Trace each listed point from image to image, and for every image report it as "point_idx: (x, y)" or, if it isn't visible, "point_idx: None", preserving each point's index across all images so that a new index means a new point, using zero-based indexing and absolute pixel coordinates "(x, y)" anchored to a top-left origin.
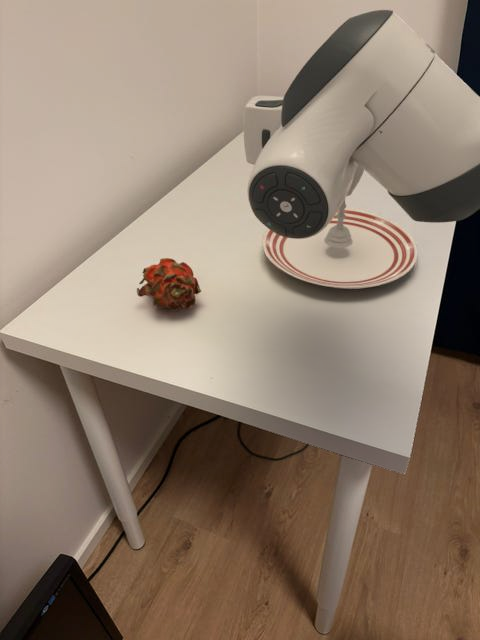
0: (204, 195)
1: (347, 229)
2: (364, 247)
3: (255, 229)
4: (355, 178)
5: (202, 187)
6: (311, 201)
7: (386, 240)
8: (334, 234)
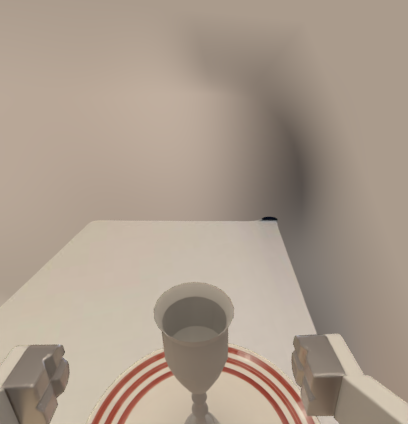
0: (9, 338)
1: (213, 420)
2: (239, 421)
3: (72, 407)
4: (218, 373)
5: (11, 322)
6: None
7: (263, 394)
8: None
